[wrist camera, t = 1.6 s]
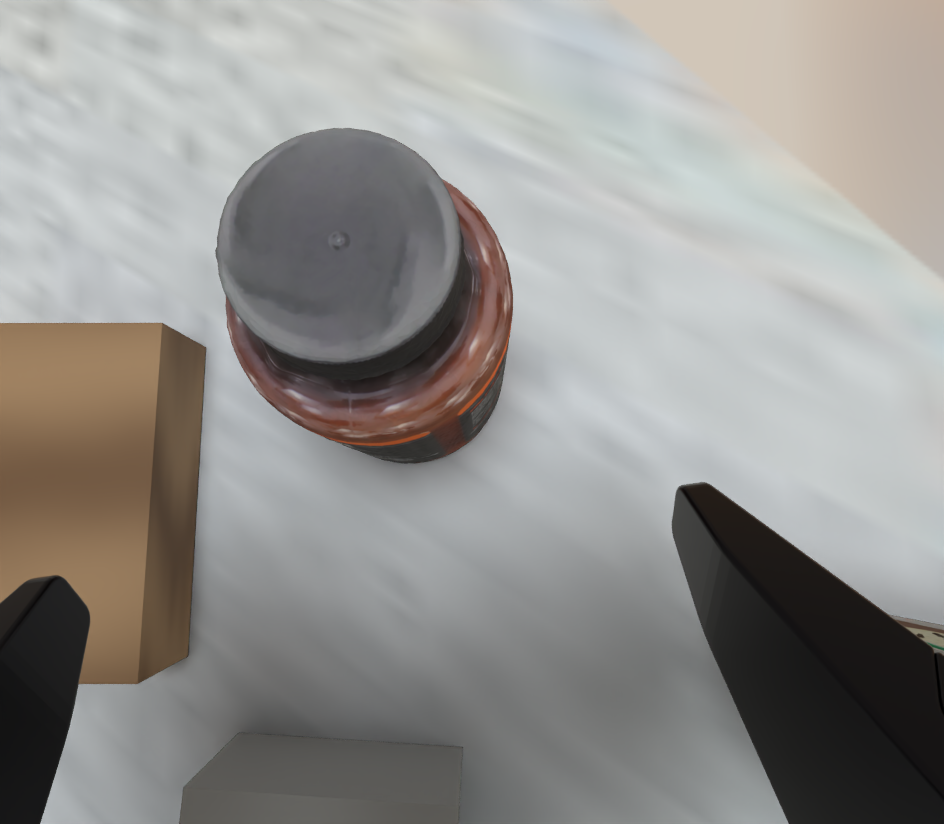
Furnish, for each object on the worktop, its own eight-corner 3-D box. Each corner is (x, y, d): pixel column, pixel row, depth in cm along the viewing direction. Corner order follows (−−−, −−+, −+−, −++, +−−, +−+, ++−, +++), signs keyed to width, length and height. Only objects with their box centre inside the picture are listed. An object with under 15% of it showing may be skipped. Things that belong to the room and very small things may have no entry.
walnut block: (187, 655, 20) (137, 683, 17) (-127, 656, 20) (-233, 683, 17) (205, 347, 21) (162, 322, 18) (-90, 347, 21) (-181, 323, 18)
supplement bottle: (492, 283, 22) (511, 51, 10) (510, 456, 21) (551, 408, 10) (318, 299, 22) (148, 83, 10) (329, 473, 21) (158, 445, 10)
